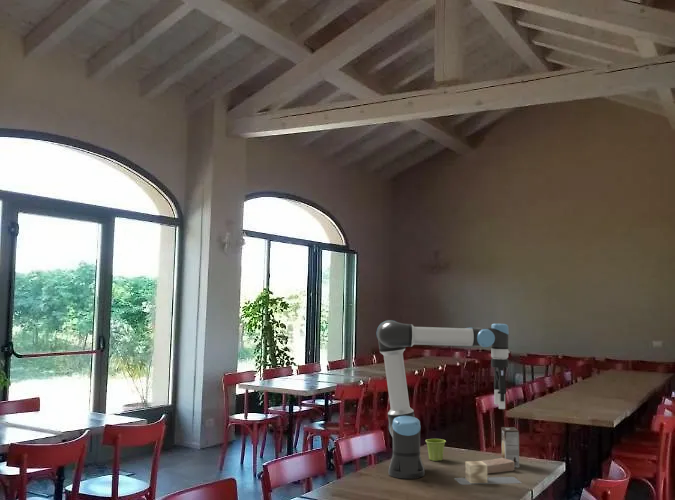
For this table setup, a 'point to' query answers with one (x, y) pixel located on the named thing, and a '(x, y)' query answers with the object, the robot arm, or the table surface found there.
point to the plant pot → (435, 449)
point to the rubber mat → (491, 480)
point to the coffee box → (510, 444)
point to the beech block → (476, 471)
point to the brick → (499, 465)
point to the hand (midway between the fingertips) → (499, 406)
